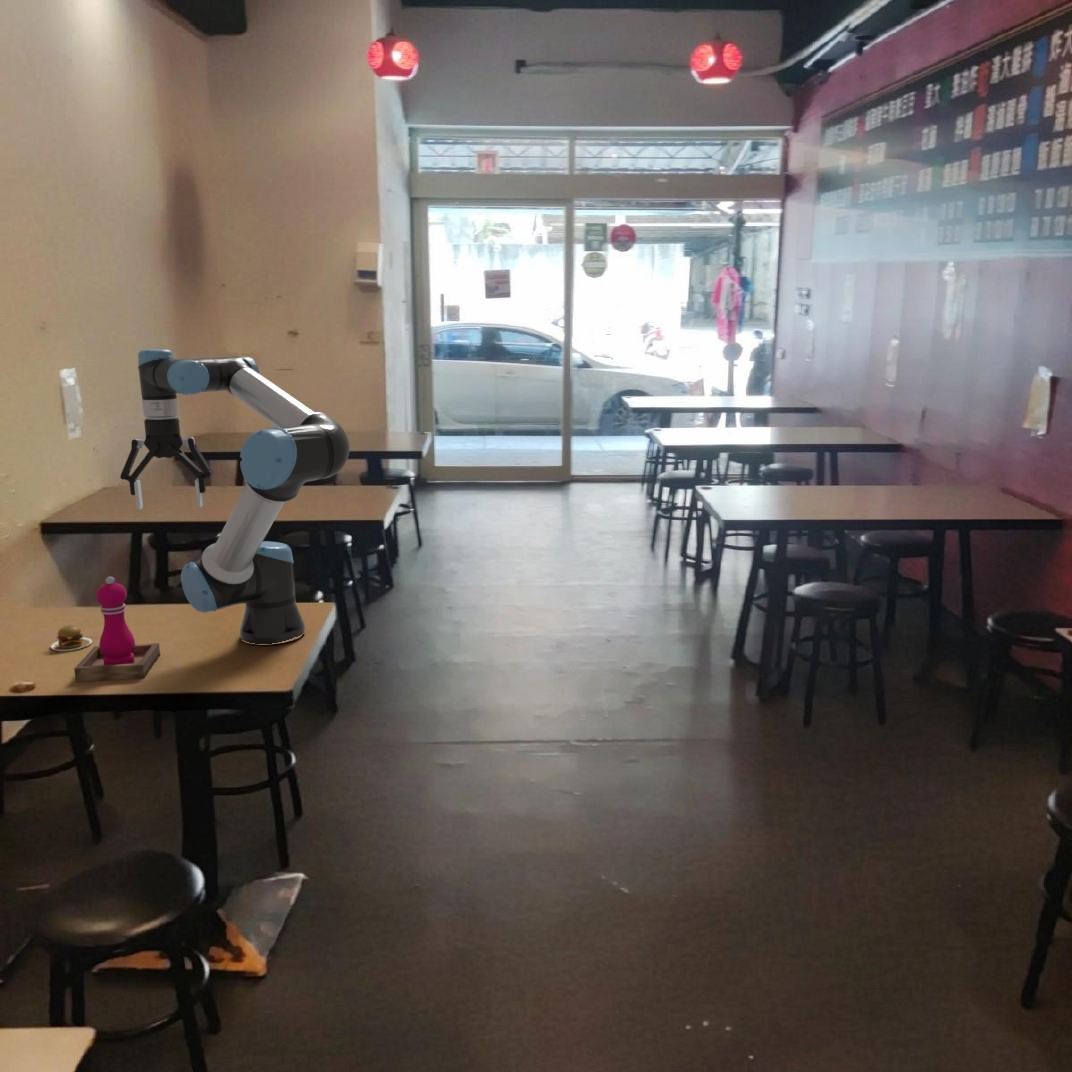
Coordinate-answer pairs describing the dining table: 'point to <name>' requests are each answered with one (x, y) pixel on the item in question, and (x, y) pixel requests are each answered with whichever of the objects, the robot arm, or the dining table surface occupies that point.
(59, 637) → the hamburger
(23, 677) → the dining table surface
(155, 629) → the dining table surface
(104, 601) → the pepper mill
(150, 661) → the walnut tray
